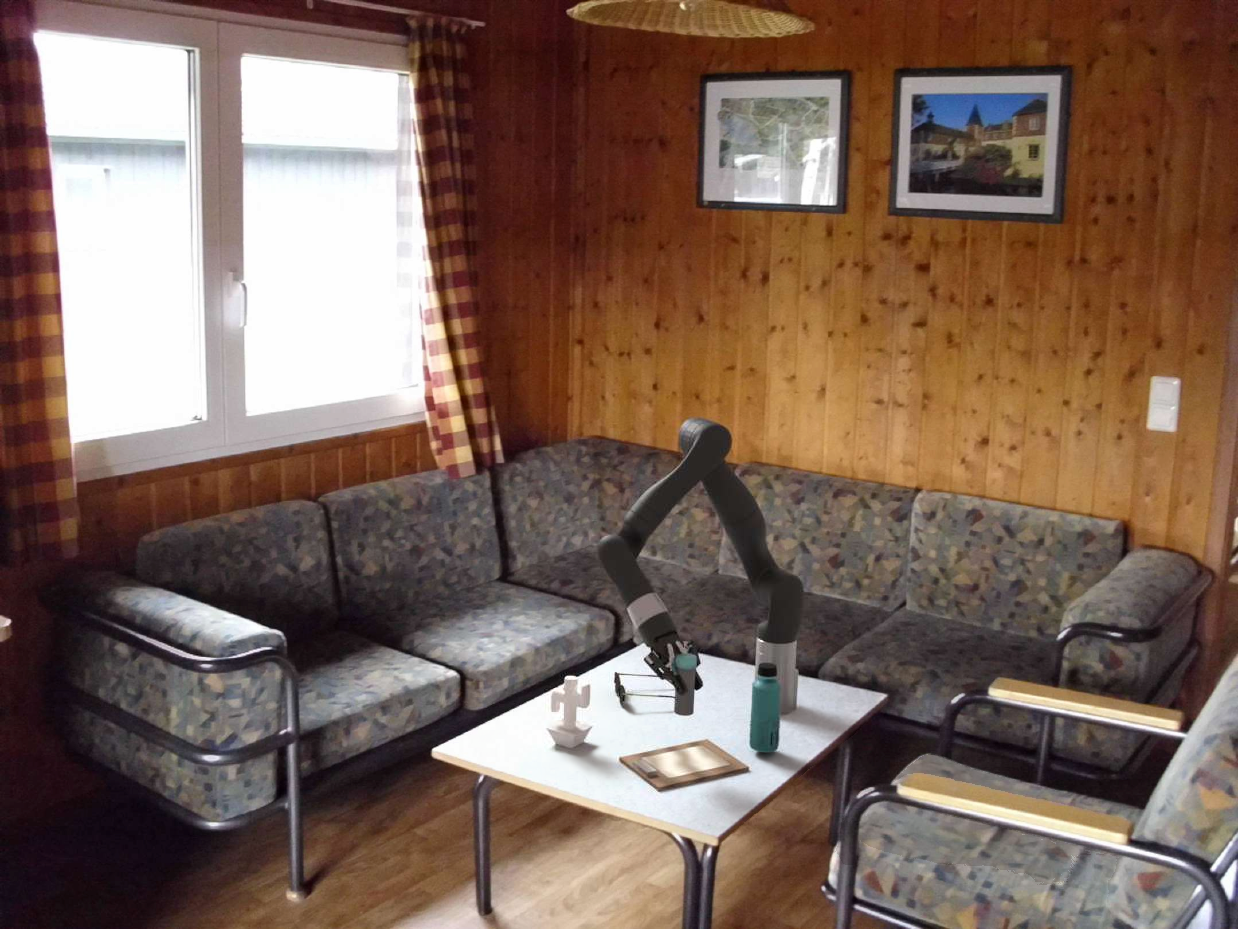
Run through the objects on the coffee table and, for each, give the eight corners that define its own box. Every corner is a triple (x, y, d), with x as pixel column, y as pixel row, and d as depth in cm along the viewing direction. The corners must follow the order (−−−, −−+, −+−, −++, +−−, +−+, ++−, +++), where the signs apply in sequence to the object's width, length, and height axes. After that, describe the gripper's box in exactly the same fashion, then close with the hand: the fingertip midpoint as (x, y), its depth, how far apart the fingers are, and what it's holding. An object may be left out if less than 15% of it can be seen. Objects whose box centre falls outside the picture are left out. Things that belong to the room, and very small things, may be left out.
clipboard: (706, 742, 294) (707, 734, 293) (748, 770, 280) (749, 762, 280) (619, 761, 283) (619, 753, 283) (658, 791, 269) (658, 782, 269)
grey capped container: (686, 707, 281) (689, 652, 278) (697, 714, 277) (700, 658, 275) (669, 710, 279) (672, 655, 276) (680, 717, 275) (683, 661, 273)
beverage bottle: (770, 762, 285) (775, 672, 281) (742, 754, 288) (747, 665, 284) (784, 751, 290) (788, 663, 286) (756, 744, 294) (760, 657, 290)
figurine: (561, 732, 297) (562, 667, 294) (596, 742, 292) (598, 677, 289) (542, 742, 291) (543, 677, 288) (577, 753, 286) (579, 686, 283)
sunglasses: (612, 690, 324) (614, 670, 323) (677, 692, 327) (679, 672, 326) (621, 711, 311) (623, 691, 310) (689, 713, 313) (691, 693, 312)
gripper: (637, 617, 274) (678, 690, 268) (684, 604, 284) (725, 674, 278) (618, 635, 279) (658, 708, 273) (665, 622, 289) (705, 691, 283)
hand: (692, 690), depth 275 cm, fingers closed on grey capped container, 4 cm apart
